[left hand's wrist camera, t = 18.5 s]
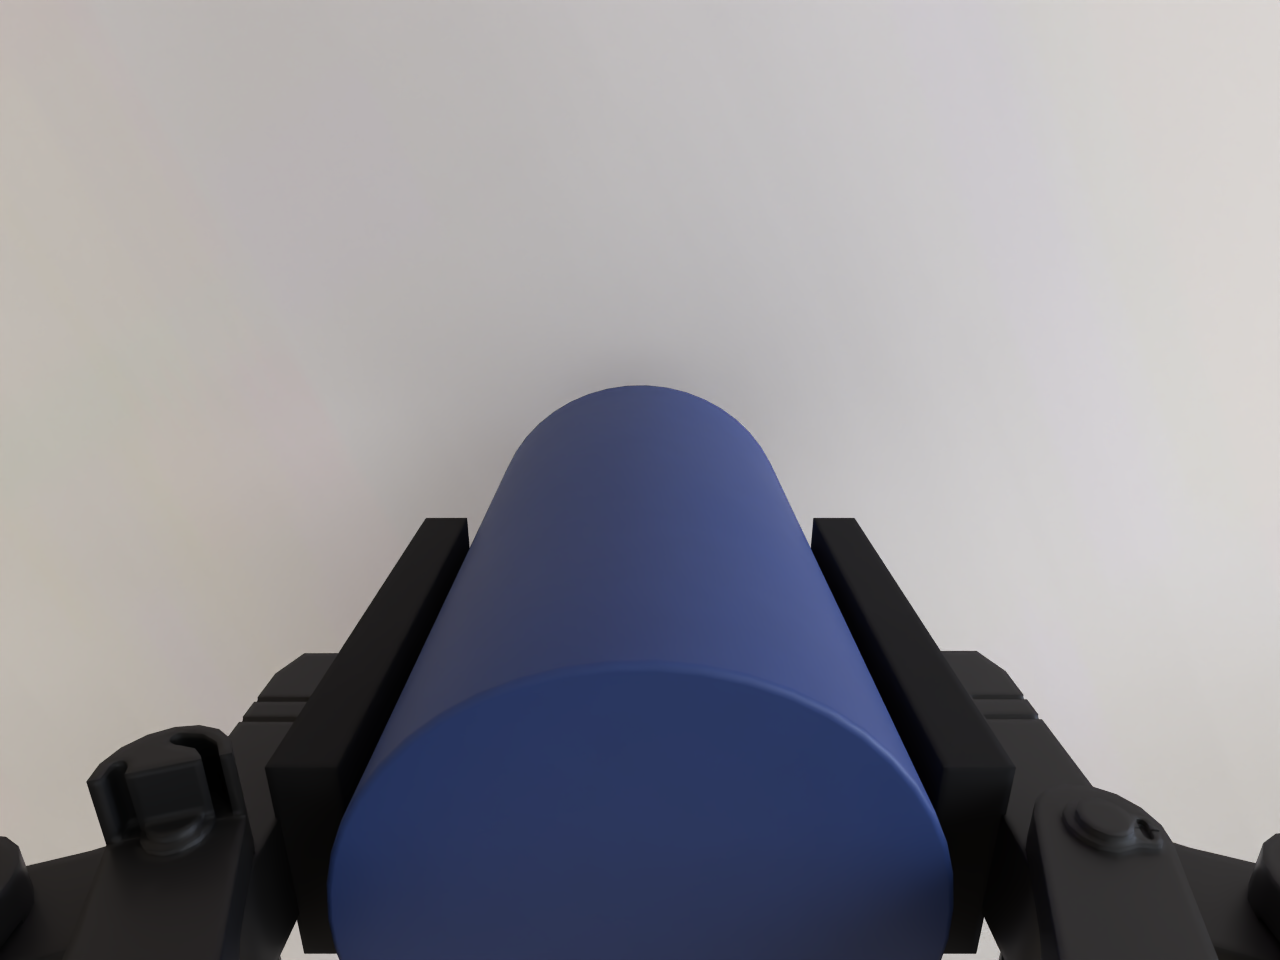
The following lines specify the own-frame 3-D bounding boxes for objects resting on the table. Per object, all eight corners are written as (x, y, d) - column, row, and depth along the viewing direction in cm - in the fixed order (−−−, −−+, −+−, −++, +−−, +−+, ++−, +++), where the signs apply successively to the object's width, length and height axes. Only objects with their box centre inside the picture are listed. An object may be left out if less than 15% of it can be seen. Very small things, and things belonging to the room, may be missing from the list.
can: (442, 538, 18) (205, 958, 8) (621, 321, 16) (592, 528, 6) (655, 690, 19) (671, 1198, 9) (840, 506, 17) (1089, 902, 8)
